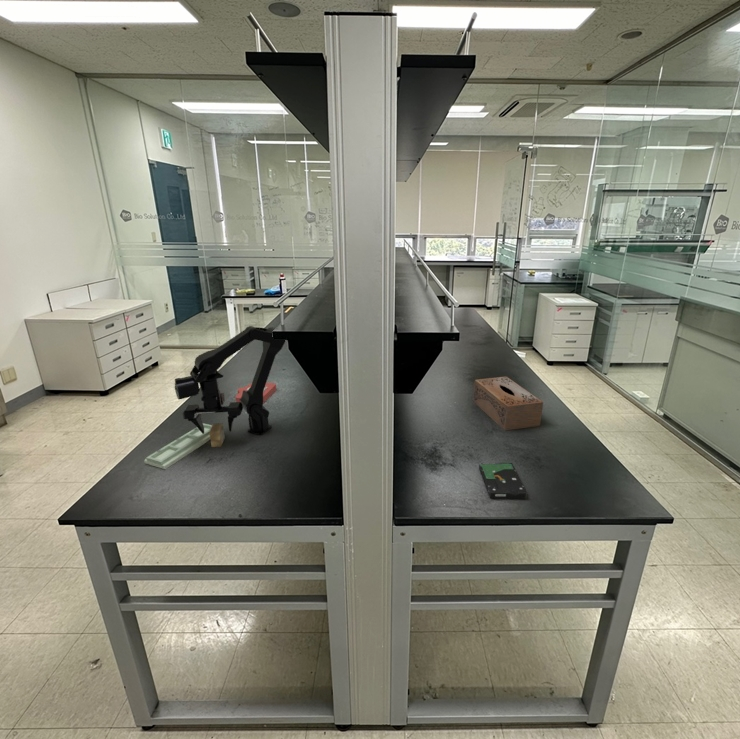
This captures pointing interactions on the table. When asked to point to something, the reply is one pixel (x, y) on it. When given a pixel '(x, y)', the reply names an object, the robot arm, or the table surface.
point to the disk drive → (502, 481)
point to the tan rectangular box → (217, 435)
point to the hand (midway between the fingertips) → (217, 432)
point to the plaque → (267, 392)
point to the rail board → (179, 448)
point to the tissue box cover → (507, 403)
